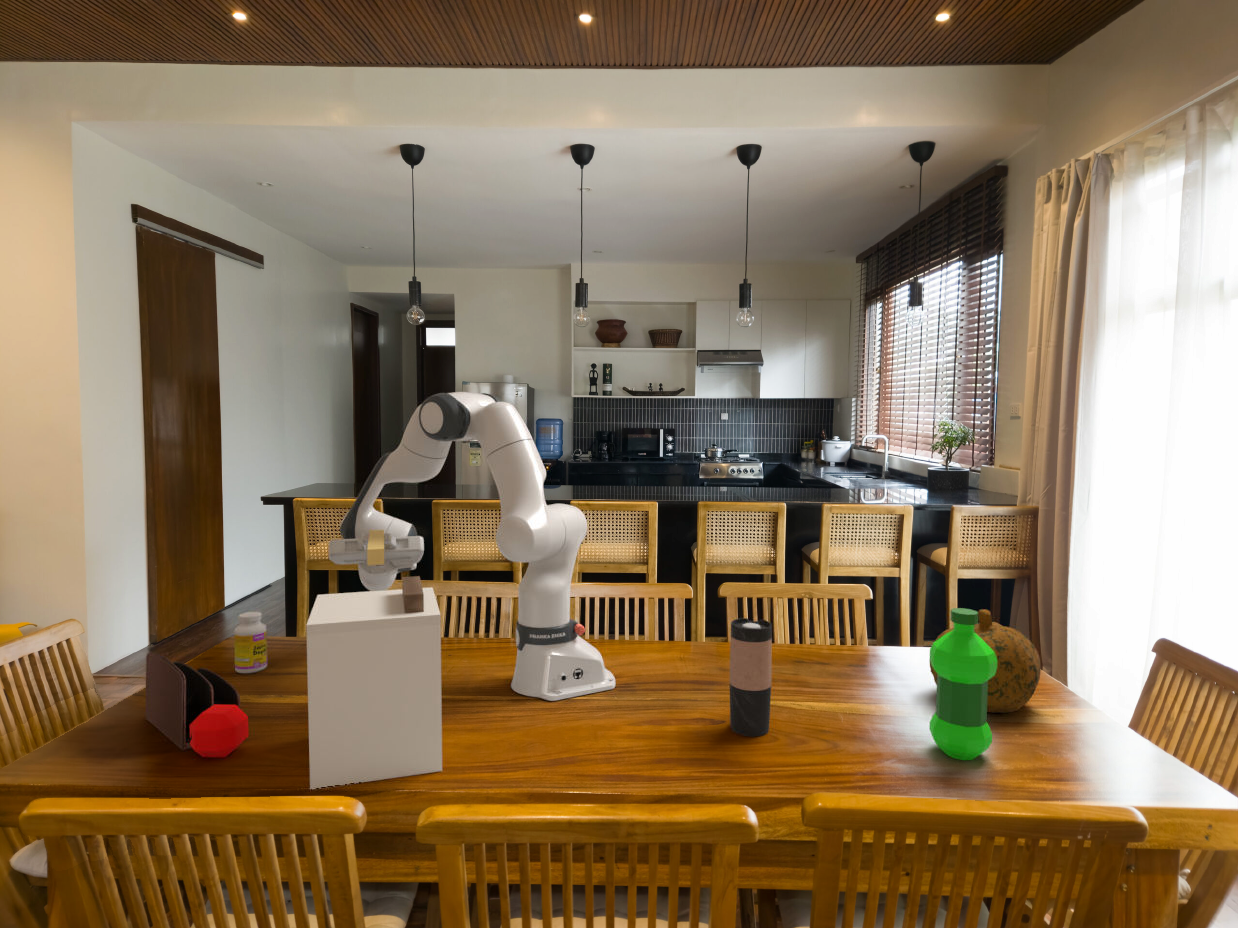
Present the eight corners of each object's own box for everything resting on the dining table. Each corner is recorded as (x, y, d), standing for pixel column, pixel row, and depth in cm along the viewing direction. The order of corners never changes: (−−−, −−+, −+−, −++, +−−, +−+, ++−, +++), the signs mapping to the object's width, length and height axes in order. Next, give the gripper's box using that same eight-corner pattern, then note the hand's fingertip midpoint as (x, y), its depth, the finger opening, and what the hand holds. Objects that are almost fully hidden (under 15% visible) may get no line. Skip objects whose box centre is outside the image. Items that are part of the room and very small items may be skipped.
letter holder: (182, 752, 125) (179, 672, 124) (145, 720, 138) (142, 648, 137) (242, 733, 133) (240, 658, 132) (202, 705, 146) (199, 636, 145)
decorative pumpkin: (1054, 695, 150) (1051, 601, 148) (1026, 736, 134) (1023, 632, 132) (952, 675, 163) (948, 589, 161) (917, 710, 148) (912, 616, 146)
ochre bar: (384, 543, 160) (383, 529, 160) (384, 564, 137) (384, 548, 137) (369, 543, 159) (369, 530, 159) (367, 565, 136) (367, 549, 136)
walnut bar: (419, 592, 132) (419, 576, 132) (423, 611, 118) (423, 593, 118) (402, 593, 131) (402, 577, 131) (404, 613, 118) (404, 595, 117)
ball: (211, 741, 129) (209, 699, 129) (255, 742, 129) (254, 700, 128) (182, 762, 121) (181, 718, 121) (229, 763, 121) (228, 718, 120)
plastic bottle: (963, 772, 119) (969, 622, 117) (914, 745, 128) (918, 606, 127) (1006, 760, 123) (1012, 615, 121) (955, 735, 132) (960, 601, 131)
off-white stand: (434, 722, 137) (432, 587, 136) (442, 770, 118) (440, 614, 117) (320, 735, 131) (317, 594, 130) (310, 789, 112) (306, 624, 111)
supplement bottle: (254, 675, 162) (252, 618, 161) (228, 673, 163) (226, 617, 163) (273, 665, 169) (272, 611, 168) (249, 663, 170) (247, 609, 169)
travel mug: (745, 740, 130) (747, 631, 129) (720, 724, 137) (722, 620, 136) (779, 732, 134) (781, 625, 132) (753, 717, 140) (754, 615, 139)
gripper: (329, 547, 166) (325, 525, 154) (421, 543, 173) (424, 521, 161) (329, 574, 164) (324, 553, 152) (422, 568, 170) (425, 548, 158)
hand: (376, 537), depth 156 cm, fingers closed on ochre bar, 3 cm apart
